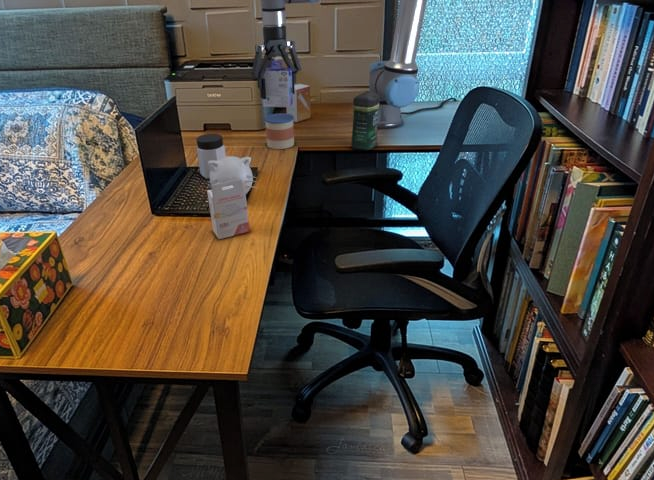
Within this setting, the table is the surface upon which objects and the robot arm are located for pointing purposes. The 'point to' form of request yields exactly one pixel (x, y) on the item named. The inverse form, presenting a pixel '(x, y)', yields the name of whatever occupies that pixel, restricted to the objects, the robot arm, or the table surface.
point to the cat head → (231, 171)
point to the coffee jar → (365, 120)
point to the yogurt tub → (280, 130)
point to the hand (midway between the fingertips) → (277, 95)
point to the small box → (300, 103)
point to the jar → (209, 151)
